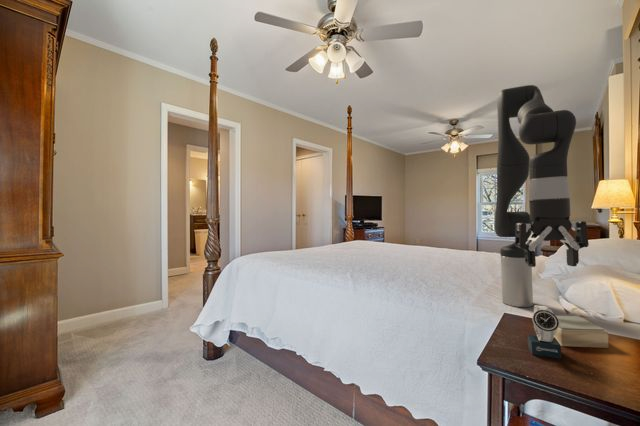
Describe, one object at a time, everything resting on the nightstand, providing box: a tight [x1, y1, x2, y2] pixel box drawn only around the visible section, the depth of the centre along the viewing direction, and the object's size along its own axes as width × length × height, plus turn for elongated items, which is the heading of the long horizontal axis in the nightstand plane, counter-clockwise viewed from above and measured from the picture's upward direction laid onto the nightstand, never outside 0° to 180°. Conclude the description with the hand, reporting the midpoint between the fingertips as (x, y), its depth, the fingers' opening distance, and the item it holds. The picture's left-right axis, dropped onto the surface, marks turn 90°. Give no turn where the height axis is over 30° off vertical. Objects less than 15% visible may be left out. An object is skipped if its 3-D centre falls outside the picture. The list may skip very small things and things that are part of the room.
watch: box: [527, 305, 562, 360], centre depth 69 cm, size 6×8×11 cm
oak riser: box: [553, 315, 609, 349], centre depth 76 cm, size 10×10×4 cm
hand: (551, 266), depth 68 cm, fingers open, 8 cm apart
